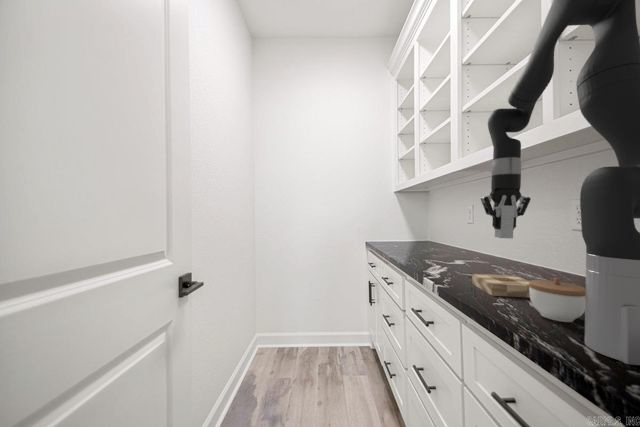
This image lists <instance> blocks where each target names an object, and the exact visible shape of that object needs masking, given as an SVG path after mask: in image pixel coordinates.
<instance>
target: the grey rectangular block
mask: <svg viewBox="0 0 640 427" xmlns="http://www.w3.org/2000/svg"><path fill="white" fill-rule="evenodd" d="M497 207H498V206H497ZM513 224H514V206H502V209H501V214H500V229H494V238H499V239H514V230H513Z"/></svg>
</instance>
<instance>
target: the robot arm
mask: <svg viewBox="0 0 640 427" xmlns="http://www.w3.org/2000/svg"><path fill="white" fill-rule="evenodd" d="M636 7H637V6H636V0H553V1H552V3H551V6H550V8H549V10H548V12H547V15H546V16H545V19H544V21H543V24H542V27H541V29H540V31H539V33H538V36H537V38H536V40H535V44H534V45H533V49H532V51H531V53H530V56H529V58H528V61H527V63H526V65H525V67H524V68H523V70H522V73H521V74H520V76H519V78H518V79H517V81H516V83H514V86H513V87H512V90H510V93H509V95H508V97H507V102H508V104H509V105H510V106H511V107H513V108H496V109H494V110H493V111H492V112H491V113H490V115H489V116H488V119H487V127H488V128H487V129H488V132H489V136H490V138H491V142H492V147H493V148H492V149H493V153H492V155H493V156H492V165H491V172H490V173H491V183H490V185H491V187H490V188H491V192H490V193H489V194H488V195H486V196H482V197H480V201H481V204H482V206H483V208H484V212H485V214H486V215H489V216H491V217H492V228H493V229H494V230H495V229H500V214H501V209H502V206H514V224H513V231H514V230H515V228H517V218H518V217H521V216H524V214H525V213H526V211H527V208H528V206H529V204H530V202H531V199H532V198H531V197H529V196H527V197H526V196H523V195H522V193H521V191H520V190H521V188H522V187H521V186H522V184H521V183H522V182H521V181H522V180H521V179H522V161H521V160H522V158H521V156H522V155H521V152H522V151H521V150H522V142H521V140H519V139H516V138H512V137H510V136H509V135H508V134H507V133H518V132H519V133H520V132H522V131H523V130H524V129H526V128H527V127H528V125H529V123H530V121H531V117H532V114H533V111H534V109H535V106H536V104H537V101H538V100H539V98H540V97H541V96H542V94H543V93H544V92H545V90H547V87H548V86H549V84H550V83H551V80H552V78H553V75H554V71H555V49H556V44H557V42H558V40H559V39H560V37H561V35H562V34H563V33H564V31H565V30H566V28H567V27H569V26H570V27H571V26H589V27H591V28H592V31H593V35H594V44H595V45H594V48H593V50H592V52H591V53H590V55H589V57H588V58H587V60H586V61H585V63H583V64H584V65H583V67H581V69H580V72H579V73H578V76H577V79H576V94H577V100H578V105H579V110H580V112H581V115H582V116H583V118H584V119H585V120H586V122H588V124H589V125H590V126H591V127H592V128H593V129H594V130H595V131H596V132H597V133H598V134H600V136H602V138H603V139H605V141H606V142H607V143H608V144H609V145H610V147H611V149H612V150H613V152H614V154H615V156H616V160H617V163H618V166H603V167H599V168H597V169H593V171H590V173H588V175H587V176H586V177H585V178H584V180H583V181H582V182H583V183H582V184H581V189H580V193H579V196H580V197H579V205H580V206H579V207H580V221H581V225H580V226H581V236H582V239H583V242H584V243H585V246H586V248H585V249H586V250H585V251H586V252H585V286H584V288H585V311H584V345H586V347H588V348H589V349H590V350H592V351H594V352H596V353H598V354H601V355H603V356H606V357H608V358H611V359H615V360H618V361H620V362H622V363H624V364H626V365H633V366H640V231H638V229H637V228H636V224H635V219H640V34H639V30H638V24H637V10H636V9H637V8H636ZM491 202H493V206H492V204H491ZM517 203H519V204H518V206H517ZM497 206H498V207H497Z"/></svg>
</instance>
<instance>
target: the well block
mask: <svg viewBox="0 0 640 427" xmlns="http://www.w3.org/2000/svg"><path fill="white" fill-rule="evenodd" d="M529 281H530V280H527V279H524V278H523V277H519V276H518V275H508V274H507V275H506V274H504V275H503V274H487V273H472V274H471V284H472V285H474V286H475V287H477V288H478V289H480V290H482V291H484V292H485V293H487V294H488V295H490V296H494V297H497V296H498V297H512V298H513V297H515V298H530V294H529Z"/></svg>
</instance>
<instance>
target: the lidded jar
mask: <svg viewBox="0 0 640 427" xmlns="http://www.w3.org/2000/svg"><path fill="white" fill-rule="evenodd" d="M528 281H529V294H530V297H529V299H530V303H531V304H532V306H533V307H534V308H535V310H536V311H537V312H539V315H540V316H541V317H543V318H545V319H549V320H551V321H556V322H560V323H561V322H563V323H572V322H574V321H575V320H576V319H578V318H580V317H581V316H582V315H584V314H585V286H581V285H578V284H575V283H569V282H564V281H561V279H560V278H558V277H554V278H553V280H551V279H550V280H548V279H532V280H528Z"/></svg>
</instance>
